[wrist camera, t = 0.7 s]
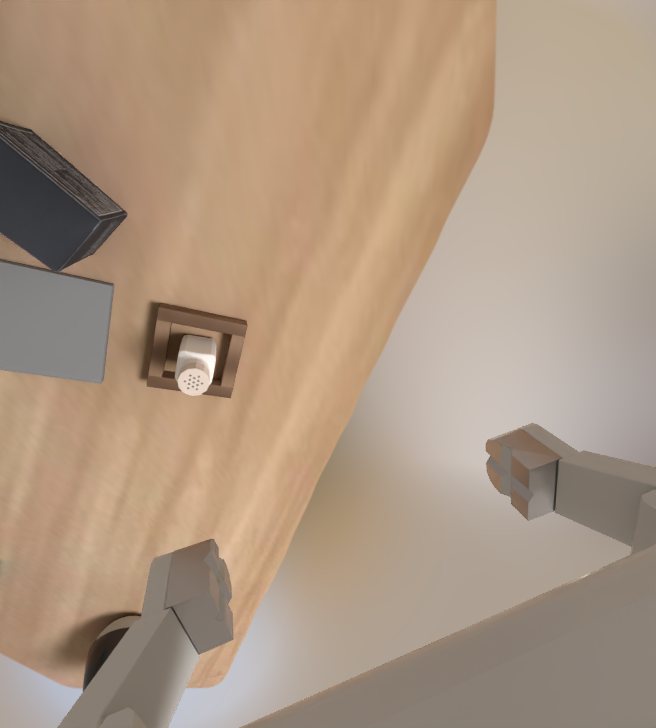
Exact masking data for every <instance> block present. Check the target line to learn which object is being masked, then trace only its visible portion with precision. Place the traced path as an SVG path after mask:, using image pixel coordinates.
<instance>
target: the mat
mask: <svg viewBox="0 0 656 728" xmlns="http://www.w3.org/2000/svg"><path fill="white" fill-rule="evenodd" d="M113 292H114V284H111V283H107V282H102V281H98V280H93V279H89V278H84V277H79V276H75V275H70V274H66V273H61V272H54V271H52V270H47V269H43V268H38V267H34V266H29V265H24V264H20V263H15V262H11V261H6V260H2V259H0V370H5V371H12V372H20V373H27V374H34V375H41V376H49V377H56V378H63V379H70V380H78V381H85V382H92V383H100V384H101V383H102V382H103V380H104V371H105V362H106V353H107V345H108V336H109V327H110V318H111V309H112V300H113Z"/></svg>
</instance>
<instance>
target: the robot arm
mask: <svg viewBox="0 0 656 728" xmlns="http://www.w3.org/2000/svg"><path fill="white" fill-rule="evenodd" d="M486 452H488V453H489V454H490V455H491V456H490V457H489V459H488V461H487V463H486V465H487V473H488V476H489V478H490V481H491V482H492V484H493V485H494V487H495V488H496V489H497V490H498V491H499V492H500V493H501V494H504V495H507V496H510V497H511V504H512V505H513V506H514V507H515V508H516V509H517V510H518V511H519V512H520V513H521V514H522V515H523V516H524V517H525V518H526V519H527V520H528V521H529V520H531V519H534V518H537V517H539V516H542V515H545V514H548V513H550V512H553V511H555V513H557V514H560V515H562V516H564V517H566V518H569V519H571V520H573V521H575V522H578V523H580V524H582V525H584V526H587V527H589V528H591V529H593V530H595V531H598V532H600V533H602V534H605V535H607V536H609V537H612V538H613V539H616V540H618V541H620V542H622V543H625V544H627V545H629V546H631V547H632V548H631V553H630V555H629V556H627V557H625V558H623V559H621V560H618V561H616V562H614V563H611V564H609V565H607V566H605V567H602V568H600V569H598V570H595V571H593V572H591V573H589V574H587V575H584V576H582V577H580V578H577V579H575V580H573V581H571V582H569V583H566V584H564V585H561V586H559V587H557V588H555V589H552V590H550V591H548V592H546V593H543V594H541V595H539V596H537V597H534V598H532V599H530V600H528V601H526V602H523V603H521V604H519V605H516V606H514V607H512V608H510V609H507V610H505V611H503V612H501V613H498V614H496V615H494V616H491V617H489V618H487V619H485V620H483V621H480V622H478V623H476V624H473V625H471V626H469V627H467V628H465V629H462V630H460V631H458V632H455V633H453V634H451V635H449V636H446V637H444V638H442V639H439V640H437V641H435V642H433V643H431V644H428V645H426V646H424V647H422V648H419V649H417V650H415V651H412V652H410V653H408V654H405V655H403V656H401V657H399V658H396V659H394V660H392V661H390V662H387V663H385V664H383V665H381V666H378V667H376V668H374V669H371V670H369V671H367V672H365V673H362V674H360V675H358V676H356V677H353V678H351V679H349V680H347V681H344V682H342V683H340V684H338V685H335V686H333V687H331V688H328V689H326V690H324V691H322V692H319V693H317V694H315V695H313V696H310V697H308V698H306V699H304V700H301V701H300V702H297V703H294V704H292V705H290V706H288V707H285V708H283V709H281V710H279V711H276V712H274V713H272V714H270V715H268V716H265V717H263V718H261V719H258V720H256V721H254V722H252V723H249V724H247V725H245V726H242V727H240V728H656V467H652V466H648V465H643V464H639V463H635V462H630V461H626V460H622V459H618V458H613V457H609V456H604V455H600V454H596V453H592V452H587V451H582V452H578V451H577V450H575V449H574V448H572V447H570V446H569V445H568V444H566V443H564V442H563V441H561V440H560V439H559V438H557V437H556V436H554V435H553V434H551V433H550V432H548V431H547V430H545V429H544V428H542V427H541V426H539V425H537V424H534V423H531V424H529V425H526V426H523V427H521V428H518V429H517V430H513V431H510V432H508V433H505V434H502V435H499V436H497V437H494V438H491V439H488V441H487V443H486ZM231 598H232V589H231V581H230V576H229V572H228V569H227V566H226V563H225V561H224V560H223V559H221V558H219V548H218V546H217V544H216V542H215V540H214V539H209V540H206V541H203V542H200V543H197V544H194V545H191V546H188V547H185V548H182V549H179V550H176V551H174V552H172V553H168V554H165V555H162V556H159V557H156V558H154V560H153V561H152V563H151V566H150V572H149V577H148V582H147V587H146V593H145V598H144V603H143V609H142V614H141V619H139V620H137V621H134V623H133V624H132V625H131V627H130V628H129V629H128V631H127V632H126V634H125V635H124V636H123V638H122V639H121V640H120V642H119V643H118V645H117V646H116V647H115V649H114V650H113V652H112V653H111V654H110V656H109V657H108V658H107V660H106V661H105V663H104V664H103V665H102V667H101V668H100V669H99V671H98V672H97V674H96V675H95V676H94V678H93V679H92V681H91V682H90V683H89V685H88V686H87V687H86V689H85V690H84V692H83V693H82V694H81V696H80V697H79V699H78V700H77V701H76V703H75V704H74V706H73V707H72V709H71V710H70V711H69V712H68V714H67V715H66V717H65V718H64V719H63V721H62V722H61V724H60V725H59V726H58V728H168V726H169V724H170V722H171V720H172V717H173V715H174V713H175V711H176V709H177V706H178V704H179V702H180V700H181V697H182V695H183V693H184V691H185V688H186V686H187V684H188V682H189V679H190V677H191V675H192V673H193V670H194V668H195V666H196V664H197V661H198V659H199V654H201V653H204V652H206V651H208V650H211V649H213V648H215V647H218V646H220V645H222V644H224V643H227V642H229V641H231V640H233V613H232V611H231V609H230V607H229V605H228V603H229V601H230V600H231Z"/></svg>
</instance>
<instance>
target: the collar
mask: <svg viewBox="0 0 656 728" xmlns="http://www.w3.org/2000/svg"><path fill="white" fill-rule="evenodd" d="M172 323H176V324H181V325H186V326H191V327H196V328H201V329H206V330H211V331H216V332H221V333H226V334H231V336H230V340H229V345H228V350H227V354H226V359H225V363H224V368H223V372H222V377H221V379H215V378H213V379H212V383H211V384H210V385H209V387H208V389H207V391H205V392H204V393H202V394H204V395H212V396H219V397H226V398H231V394H232V390H233V386H234V381H235V377H236V373H237V368H238V364H239V360H240V356H241V351H242V347H243V343H244V338H245V334H246V330H247V321H245V320H240V319H235V318H230V317H226V316H221V315H216V314H211V313H207V312H202V311H197V310H193V309H188V308H183V307H178V306H174V305H169V304H164V303H161V304H160V306H159V309H158V315H157V322H156V328H155V335H154V341H153V348H152V354H151V361H150V367H149V374H148V380H147V386H148V387H155V388H162V389H169V390H176V391H181V390H180V389H179V387H178V382H177V381H176V379H175V372H170V371H164V367H165V361H166V355H167V349H168V343H169V337H170V331H171V325H172Z"/></svg>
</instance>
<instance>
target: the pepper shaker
mask: <svg viewBox="0 0 656 728" xmlns="http://www.w3.org/2000/svg"><path fill="white" fill-rule="evenodd" d="M215 362H216V341H215V340H214V339H212V338H206V337H199V336H193V335H184V336H183V338H182V341H181V345H180V349H179V353H178V359H177V365H176V372H175V379H176V381H177V382H178V387H179V389H180V390H181V391H182V392H183V393H185V394H188V395H190V396H195V395H200V394H202V393H204V392H205V391H207V389H208V387H209V385H210V384H211V383H212V379H213V374H214V368H215Z"/></svg>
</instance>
